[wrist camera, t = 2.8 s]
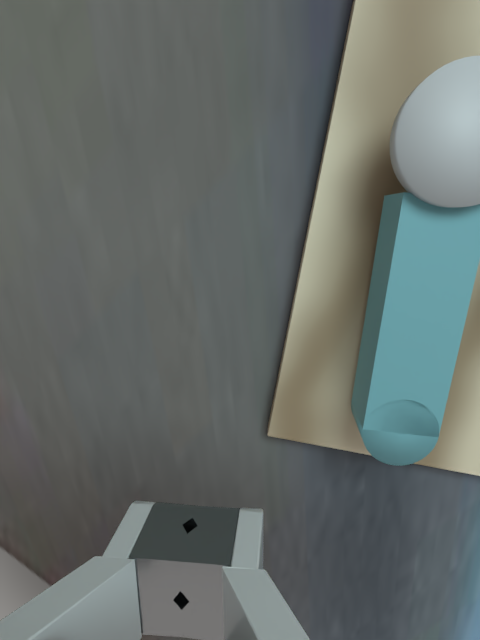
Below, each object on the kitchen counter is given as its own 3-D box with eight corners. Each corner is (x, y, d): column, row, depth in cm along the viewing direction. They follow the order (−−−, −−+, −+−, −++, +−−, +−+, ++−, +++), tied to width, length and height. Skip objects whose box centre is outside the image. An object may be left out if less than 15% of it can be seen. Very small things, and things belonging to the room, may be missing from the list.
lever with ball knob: (383, 84, 15) (410, 51, 12) (503, 90, 15) (561, 59, 12) (332, 428, 19) (342, 468, 16) (425, 438, 19) (454, 480, 16)
